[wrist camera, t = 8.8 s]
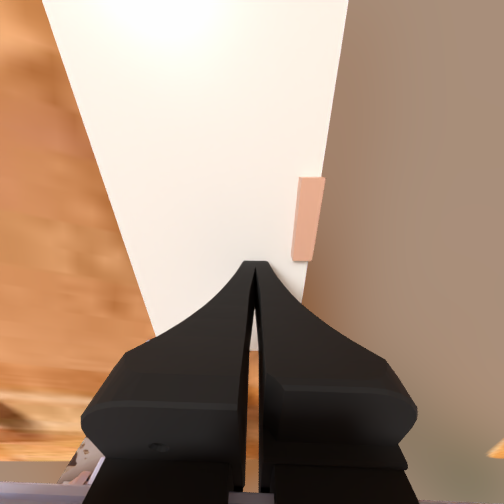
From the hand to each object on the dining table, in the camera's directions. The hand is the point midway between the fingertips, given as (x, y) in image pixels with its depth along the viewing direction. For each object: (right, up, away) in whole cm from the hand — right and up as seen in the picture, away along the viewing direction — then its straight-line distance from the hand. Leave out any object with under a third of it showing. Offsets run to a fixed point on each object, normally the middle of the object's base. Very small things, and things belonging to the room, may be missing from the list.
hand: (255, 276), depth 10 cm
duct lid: (-2, +3, 0) cm, 4 cm away
